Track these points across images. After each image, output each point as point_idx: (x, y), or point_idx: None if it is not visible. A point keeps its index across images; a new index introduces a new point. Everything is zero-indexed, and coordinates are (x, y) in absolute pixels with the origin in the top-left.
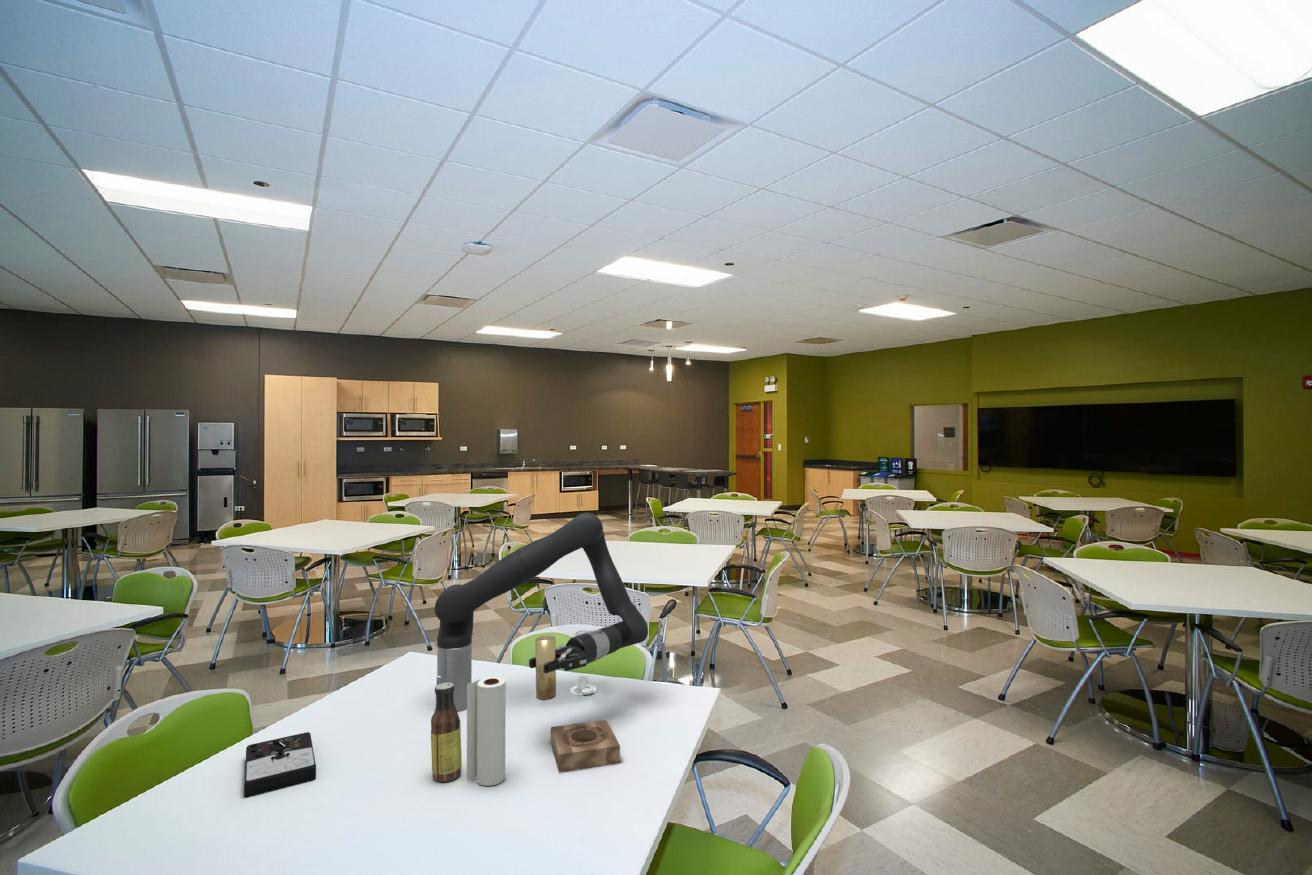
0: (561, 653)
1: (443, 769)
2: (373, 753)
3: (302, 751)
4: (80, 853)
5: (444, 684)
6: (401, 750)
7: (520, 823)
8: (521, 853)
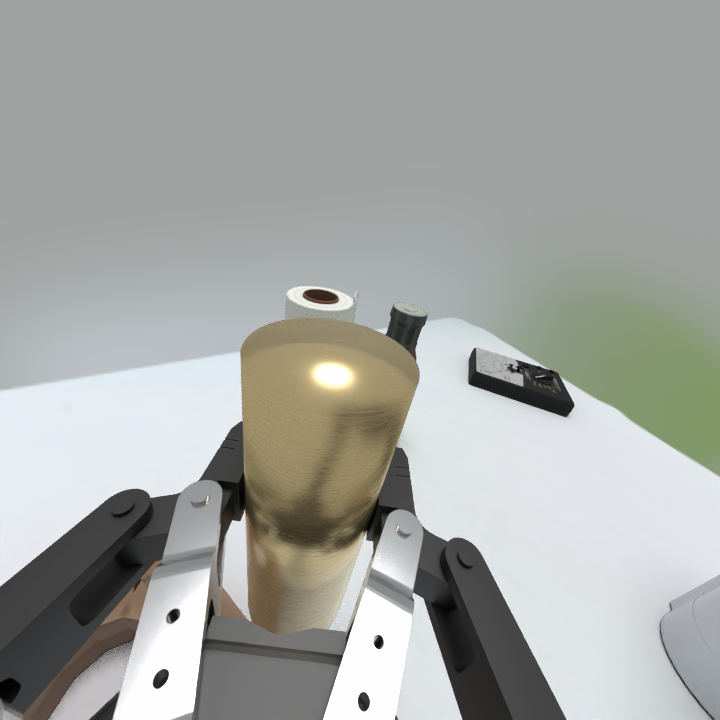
0: (262, 660)
1: None
2: (501, 432)
3: (516, 380)
4: (455, 321)
5: (416, 310)
6: (490, 452)
7: (188, 403)
8: (162, 374)
